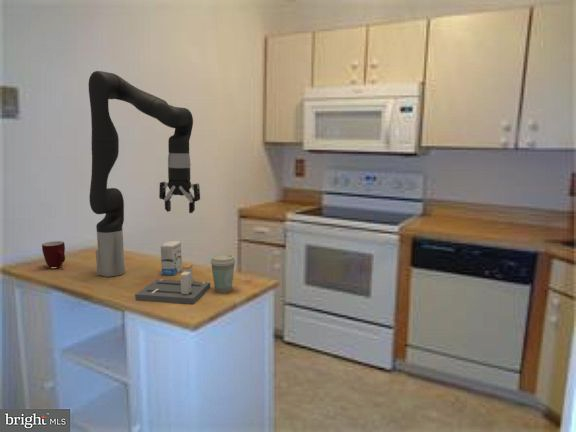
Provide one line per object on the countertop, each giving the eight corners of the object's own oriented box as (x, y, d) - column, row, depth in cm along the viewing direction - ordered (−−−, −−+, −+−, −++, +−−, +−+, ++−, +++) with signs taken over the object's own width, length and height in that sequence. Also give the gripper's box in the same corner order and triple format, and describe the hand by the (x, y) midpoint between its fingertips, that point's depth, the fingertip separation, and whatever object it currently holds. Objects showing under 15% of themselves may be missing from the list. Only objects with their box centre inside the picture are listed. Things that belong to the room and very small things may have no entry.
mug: (75, 266, 181) (73, 243, 180) (58, 272, 174) (55, 247, 172) (57, 263, 186) (55, 240, 184) (39, 268, 178) (37, 244, 177)
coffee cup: (225, 296, 149) (224, 261, 147) (205, 291, 154) (205, 257, 152) (240, 288, 156) (240, 255, 154) (222, 284, 161) (221, 252, 159)
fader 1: (183, 285, 153) (182, 266, 151) (187, 282, 156) (186, 264, 155) (189, 285, 152) (188, 267, 151) (192, 282, 155) (192, 264, 154)
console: (135, 300, 145) (135, 294, 145) (157, 284, 160) (157, 278, 160) (193, 304, 142) (193, 297, 141) (210, 287, 157) (210, 282, 157)
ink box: (173, 275, 171) (171, 246, 169) (161, 275, 172) (159, 245, 169) (182, 269, 179) (181, 241, 177) (171, 268, 180) (170, 240, 178)
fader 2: (181, 293, 144) (180, 274, 143) (185, 290, 148) (184, 271, 146) (187, 294, 144) (187, 274, 143) (191, 290, 147) (190, 271, 146)
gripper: (155, 166, 152) (156, 212, 155) (194, 167, 149) (194, 215, 152) (164, 164, 159) (165, 209, 162) (202, 166, 156) (202, 211, 159)
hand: (179, 212), depth 157 cm, fingers open, 8 cm apart
